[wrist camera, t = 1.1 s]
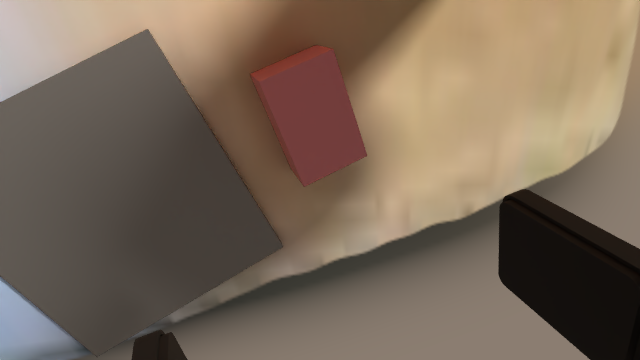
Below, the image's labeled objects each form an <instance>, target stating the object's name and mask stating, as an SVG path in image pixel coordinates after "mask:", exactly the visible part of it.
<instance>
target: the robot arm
mask: <svg viewBox="0 0 640 360" xmlns="http://www.w3.org/2000/svg"><path fill="white" fill-rule="evenodd" d="M499 277H500V279H501V282H502V283H503V284H504V285H505V286H506V287H507V288H508V289H509V290H510V291H512V292H513V293H514V294H515V295H516V296H517V297H519V298H520V299H521V300H522V301H523V302H524V303H525V304H527V305H528V306H529V307H530V308H531V309H533V310H534V311H535V312H536V313H537V314H538V315H539V316H540V317H542V318H543V319H544V320H545V321H546V322H548V323H549V324H550V325H551V326H552V327H553V328H554V329H556V330H557V331H558V332H559V333H560V334H561V335H562V336H564V337H565V338H566V339H567V340H568V341H569V342H570V343H572V344H573V345H574V346H575V347H576V348H577V349H579V350H580V351H581V352H582V353H583V354H584V355H586V356H587V357H588V358H589V359H590V360H640V249H639V248H636V247H635V246H633V245H631V244H629V243H627V242H625V241H623V240H622V239H619V238H617V237H616V236H614V235H612V234H610V233H608V232H606V231H605V230H603V229H601V228H599V227H597V226H595V225H593V224H591V223H589V222H588V221H586V220H584V219H582V218H580V217H578V216H576V215H574V214H573V213H571V212H569V211H567V210H565V209H563V208H561V207H559V206H557V205H556V204H554V203H552V202H550V201H548V200H546V199H544V198H542V197H540V196H539V195H537V194H535V193H533V192H531V191H529V190H526V189H522V190H520V191H517V192H514V193H512V194H509V195H507V196H505V197H504V199H503V203H501V205H500V214H499ZM132 360H187V358H186V357H185V355H184V353H183V351H182V349H181V348H180V346H179V344H178V342H177V340H176V338H175V336H174V335H173V333H171V332H170V333H167V334H164V332H163V331H162V330H158V331H155V332H153V333H150V334H147V335H145V336H142V337H140V338H137V339H136V340H135V342H134V347H133V354H132Z"/></svg>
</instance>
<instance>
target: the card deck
mask: <svg viewBox="0 0 640 360" xmlns="http://www.w3.org/2000/svg"><path fill="white" fill-rule="evenodd" d="M250 76H251V78H252V80H253V83H254V85H255V87H256V90H257V92H258V94H259V96H260V99H261V101H262V103H263V106H264V108H265V110H266V113H267V115H268V117H269V119H270V122H271V124H272V126H273V129H274V131H275V133H276V135H277V138H278V140H279V142H280V145H281V147H282V149H283V151H284V154H285V156H286V158H287V161H288V163H289V165H290V167H291V170H292V171H293V172H294V174H295V175H296V176H297V178H298V179H299V180H300V182H301V183H302V185H303V186H304V187H305V186H307V185H309V184H311V183H313V182H315V181H317V180H319V179H321V178H323V177H325V176H327V175H329V174H331V173H333V172H335V171H337V170H339V169H341V168H343V167H345V166H347V165H349V164H351V163H354V162H356V161H358V160H360V159H362V158H364V157H366V156H367V153H366V150H365V147H364V144H363V141H362V137H361V134H360V131H359V128H358V125H357V122H356V119H355V116H354V112H353V109H352V106H351V103H350V100H349V97H348V94H347V90H346V87H345V84H344V81H343V78H342V75H341V72H340V68H339V65H338V62H337V59H336V56H335V53H334V50H333V49H331V48H327V47H323V46H318V45H315V46H312V47H310V48H308V49H305V50H303V51H301V52H299V53H296V54H294V55H292V56H289V57H287V58H285V59H283V60H280V61H278V62H276V63H273V64H271V65H269V66H267V67H264V68H262V69H260V70H257V71H255V72H253V73H251V74H250Z"/></svg>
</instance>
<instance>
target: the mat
mask: <svg viewBox="0 0 640 360" xmlns="http://www.w3.org/2000/svg"><path fill="white" fill-rule="evenodd" d="M282 247H283V245H282V243H281V242H280V240H279V238H278V237H277V235H276V234H275V232H274V230H273V229H272V227H271V226H270V224H269V222H268V221H267V219H266V218H265V216H264V214H263V213H262V211H261V210H260V208H259V206H258V205H257V203H256V202H255V200H254V198H253V197H252V195H251V194H250V192H249V190H248V189H247V187H246V186H245V184H244V182H243V181H242V179H241V178H240V176H239V174H238V173H237V171H236V170H235V168H234V166H233V165H232V163H231V162H230V160H229V158H228V157H227V155H226V153H225V152H224V150H223V149H222V147H221V145H220V144H219V142H218V141H217V139H216V137H215V136H214V134H213V133H212V131H211V129H210V128H209V126H208V125H207V123H206V121H205V120H204V118H203V117H202V115H201V113H200V112H199V110H198V109H197V107H196V105H195V104H194V102H193V101H192V99H191V97H190V96H189V94H188V93H187V91H186V89H185V88H184V86H183V85H182V83H181V81H180V80H179V78H178V77H177V75H176V73H175V72H174V70H173V69H172V67H171V65H170V64H169V62H168V61H167V59H166V57H165V56H164V54H163V53H162V51H161V49H160V48H159V46H158V45H157V43H156V41H155V40H154V38H153V36H152V35H151V33H150V32H149V30H148V29H146V30H144V31H142V32H140V33H138V34H136V35H134V36H132V37H130V38H128V39H126V40H124V41H122V42H120V43H118V44H116V45H114V46H112V47H110V48H108V49H106V50H104V51H102V52H100V53H98V54H96V55H94V56H92V57H90V58H88V59H86V60H84V61H82V62H80V63H78V64H76V65H74V66H72V67H70V68H68V69H66V70H64V71H62V72H60V73H58V74H56V75H54V76H52V77H50V78H48V79H46V80H44V81H42V82H40V83H38V84H36V85H34V86H32V87H30V88H28V89H26V90H24V91H22V92H20V93H18V94H16V95H14V96H12V97H10V98H8V99H6V100H4V101H2V102H0V276H1V277H2V278H3V279H4V280H6V281H7V282H8V283H9V284H10V285H12V286H13V287H14V288H15V289H16V290H18V291H19V292H20V293H21V294H22V295H23V296H25V297H26V298H27V299H28V300H29V301H31V302H32V303H33V304H34V305H35V306H37V307H38V308H39V309H40V310H41V311H43V312H44V313H45V314H46V315H47V316H49V317H50V318H51V319H52V320H53V321H55V322H56V323H57V324H58V325H59V326H61V327H62V328H63V329H64V330H65V331H66V332H68V333H69V334H70V335H71V336H72V337H74V338H75V339H76V340H77V341H78V342H80V343H81V344H82V345H83V346H84V347H86V348H87V349H88V350H89V351H90V352H92V353H93V354H94V355H95V356H96V357H97V356H100V355H101V354H103V353H105V352H106V351H108V350H109V349H111V348H113V347H115V346H116V345H118V344H120V343H122V342H123V341H125V340H127V339H128V338H130V337H132V336H133V335H135V334H137V333H138V332H140V331H142V330H144V329H145V328H147V327H149V326H150V325H152V324H154V323H155V322H157V321H159V320H160V319H162V318H164V317H166V316H167V315H169V314H171V313H172V312H174V311H176V310H177V309H179V308H181V307H182V306H184V305H186V304H188V303H189V302H191V301H193V300H194V299H196V298H198V297H199V296H201V295H203V294H204V293H206V292H208V291H210V290H211V289H213V288H215V287H216V286H218V285H220V284H221V283H223V282H225V281H226V280H228V279H230V278H232V277H233V276H235V275H237V274H238V273H240V272H242V271H243V270H245V269H247V268H248V267H250V266H252V265H254V264H255V263H257V262H259V261H260V260H262V259H264V258H265V257H267V256H269V255H270V254H272V253H274V252H276V251H277V250H279V249H281V248H282Z"/></svg>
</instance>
